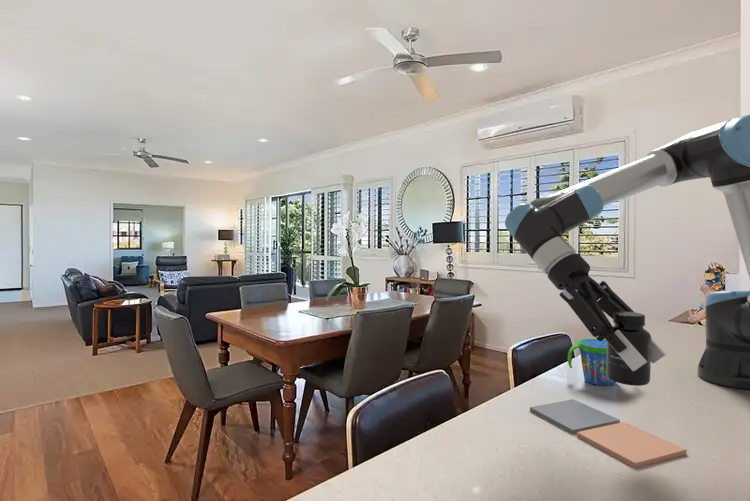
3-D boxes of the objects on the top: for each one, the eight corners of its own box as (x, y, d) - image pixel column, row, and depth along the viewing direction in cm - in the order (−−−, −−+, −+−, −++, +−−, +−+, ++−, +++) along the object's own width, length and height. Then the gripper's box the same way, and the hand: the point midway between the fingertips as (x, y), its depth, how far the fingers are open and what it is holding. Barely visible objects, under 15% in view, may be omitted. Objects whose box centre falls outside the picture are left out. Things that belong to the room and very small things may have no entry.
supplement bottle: (609, 384, 75) (608, 315, 74) (604, 372, 81) (604, 309, 81) (655, 388, 72) (655, 317, 72) (646, 376, 78) (646, 311, 78)
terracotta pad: (624, 425, 84) (624, 421, 84) (686, 454, 73) (686, 449, 73) (577, 436, 80) (577, 432, 80) (635, 468, 69) (635, 463, 69)
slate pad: (573, 402, 97) (573, 399, 97) (619, 423, 85) (619, 419, 85) (530, 410, 93) (529, 407, 93) (573, 434, 81) (572, 429, 81)
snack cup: (629, 378, 113) (629, 339, 112) (641, 391, 103) (641, 349, 102) (565, 373, 117) (564, 336, 117) (570, 386, 107) (570, 346, 107)
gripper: (576, 274, 94) (658, 364, 81) (520, 280, 83) (605, 385, 70) (600, 250, 90) (691, 341, 77) (544, 253, 79) (640, 361, 66)
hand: (650, 362), depth 74 cm, fingers closed on supplement bottle, 7 cm apart
